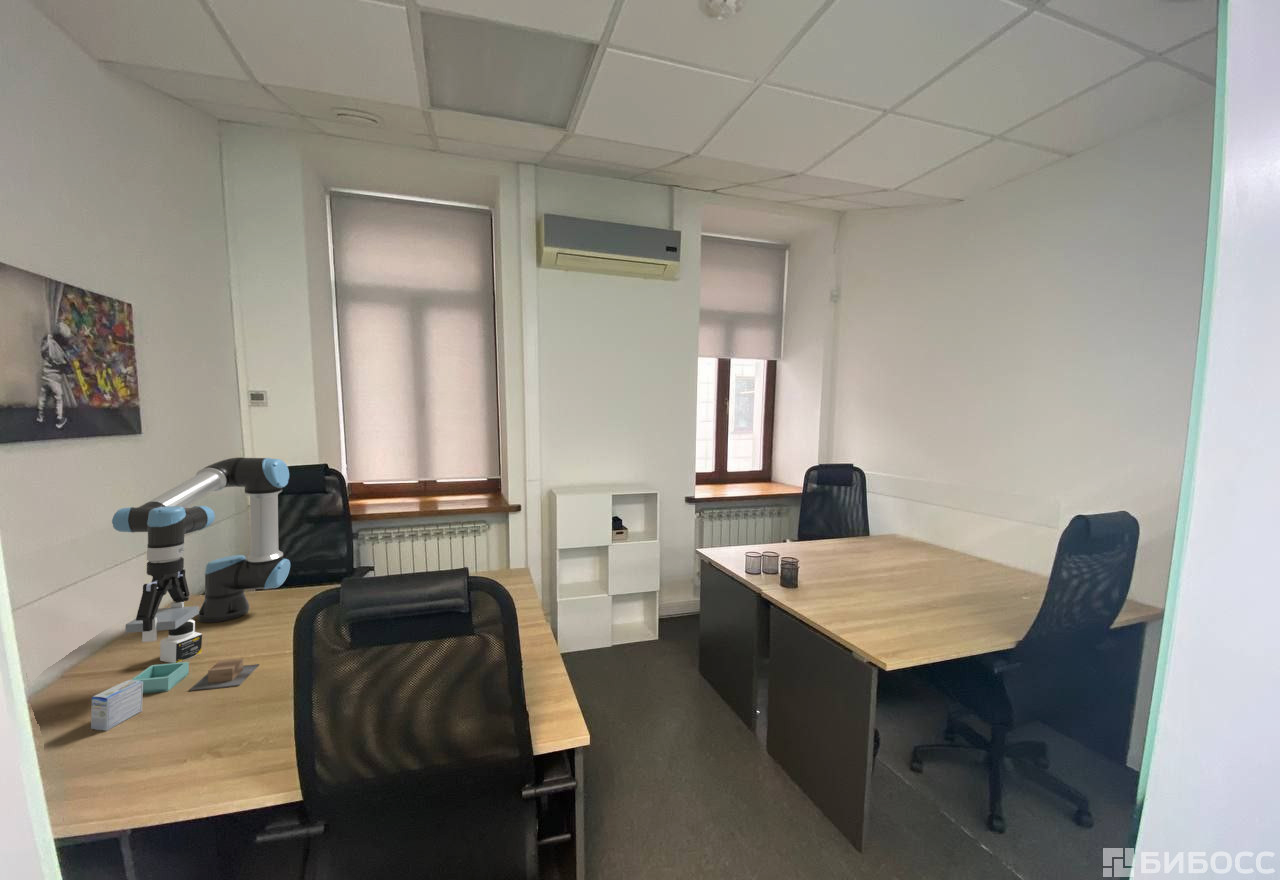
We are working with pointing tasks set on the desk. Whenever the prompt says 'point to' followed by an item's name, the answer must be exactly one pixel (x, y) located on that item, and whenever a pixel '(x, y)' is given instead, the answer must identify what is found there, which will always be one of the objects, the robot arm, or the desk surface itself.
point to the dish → (162, 676)
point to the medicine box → (116, 705)
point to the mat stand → (225, 675)
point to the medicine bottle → (181, 643)
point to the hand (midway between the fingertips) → (163, 631)
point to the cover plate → (166, 619)
